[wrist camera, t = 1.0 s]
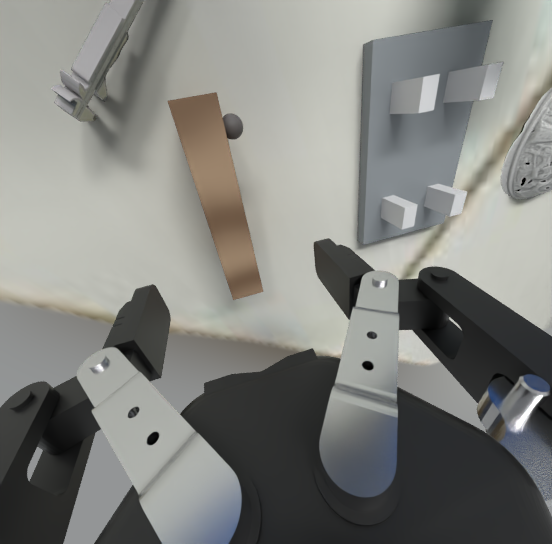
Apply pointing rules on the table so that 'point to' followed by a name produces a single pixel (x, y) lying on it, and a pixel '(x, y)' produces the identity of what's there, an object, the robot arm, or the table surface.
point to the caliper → (96, 59)
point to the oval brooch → (531, 155)
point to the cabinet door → (218, 185)
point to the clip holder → (418, 125)
